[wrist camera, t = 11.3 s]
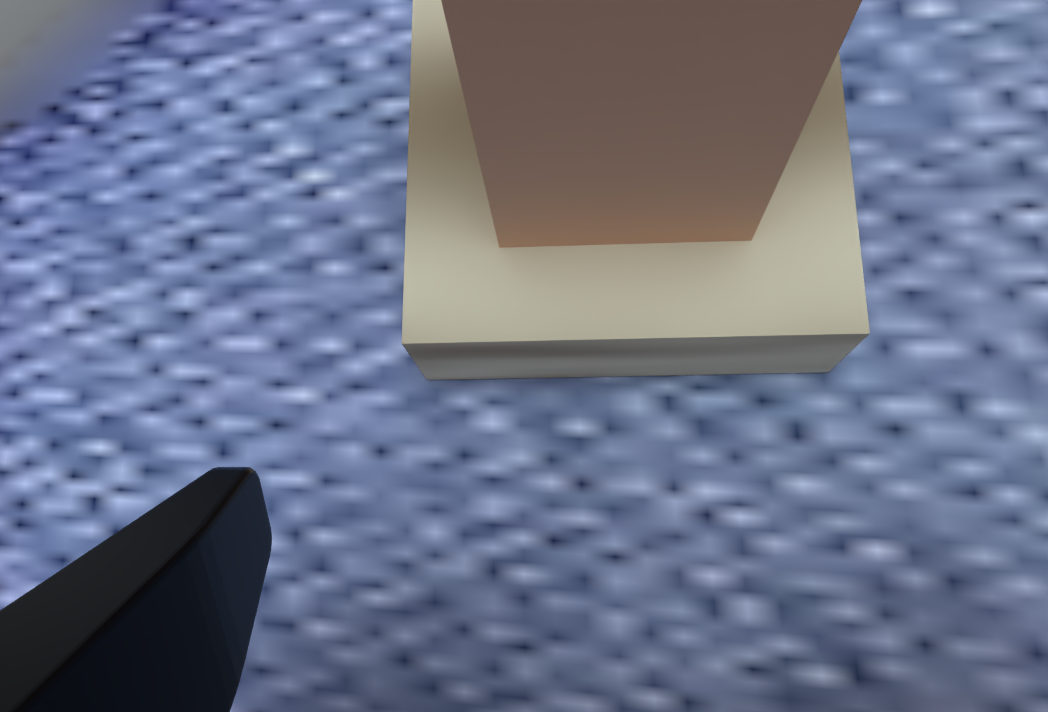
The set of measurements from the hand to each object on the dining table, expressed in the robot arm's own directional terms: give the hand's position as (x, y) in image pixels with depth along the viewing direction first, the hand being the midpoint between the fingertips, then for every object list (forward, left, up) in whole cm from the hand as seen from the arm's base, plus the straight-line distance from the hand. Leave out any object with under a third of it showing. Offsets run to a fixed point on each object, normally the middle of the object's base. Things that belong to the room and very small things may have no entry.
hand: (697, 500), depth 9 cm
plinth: (+4, +8, -11) cm, 14 cm away
